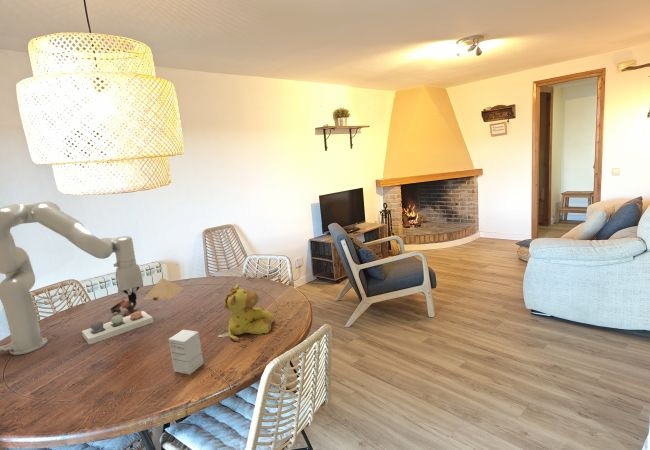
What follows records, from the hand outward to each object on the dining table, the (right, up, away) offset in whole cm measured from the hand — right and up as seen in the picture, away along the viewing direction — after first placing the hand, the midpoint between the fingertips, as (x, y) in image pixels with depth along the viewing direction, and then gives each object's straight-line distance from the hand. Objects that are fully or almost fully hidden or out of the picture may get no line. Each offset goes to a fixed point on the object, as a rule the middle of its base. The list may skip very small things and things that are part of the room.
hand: (133, 301), depth 171 cm
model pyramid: (-2, -4, +39) cm, 39 cm away
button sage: (-5, -10, -4) cm, 11 cm away
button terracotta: (+1, -9, +2) cm, 10 cm away
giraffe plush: (+56, -9, -12) cm, 58 cm away
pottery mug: (-11, -9, +14) cm, 20 cm away
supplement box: (+40, -15, -40) cm, 59 cm away
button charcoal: (-11, -11, -9) cm, 18 cm away
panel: (-5, -12, -3) cm, 13 cm away
